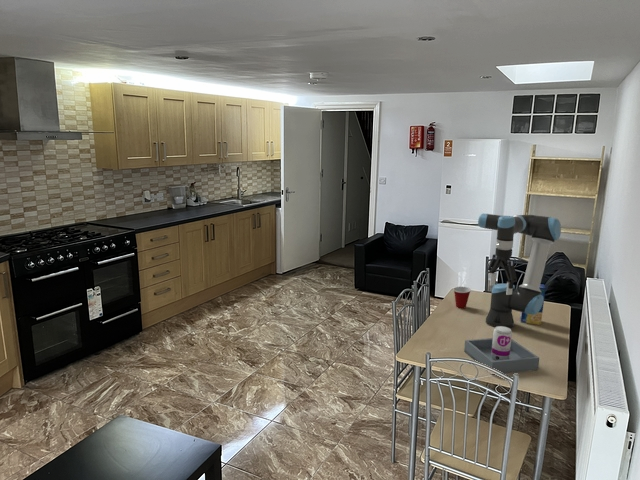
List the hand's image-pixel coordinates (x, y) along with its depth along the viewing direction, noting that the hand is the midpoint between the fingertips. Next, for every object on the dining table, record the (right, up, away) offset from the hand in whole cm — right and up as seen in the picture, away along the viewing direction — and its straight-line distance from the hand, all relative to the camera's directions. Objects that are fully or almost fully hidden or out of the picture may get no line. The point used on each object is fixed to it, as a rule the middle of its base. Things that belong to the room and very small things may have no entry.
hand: (500, 289), depth 238 cm
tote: (-3, -33, -7) cm, 34 cm away
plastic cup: (-1, -18, +64) cm, 67 cm away
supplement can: (-3, -32, -7) cm, 33 cm away
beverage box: (+33, -23, +43) cm, 59 cm away
